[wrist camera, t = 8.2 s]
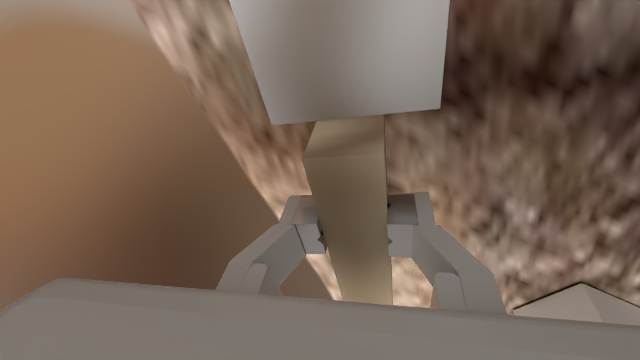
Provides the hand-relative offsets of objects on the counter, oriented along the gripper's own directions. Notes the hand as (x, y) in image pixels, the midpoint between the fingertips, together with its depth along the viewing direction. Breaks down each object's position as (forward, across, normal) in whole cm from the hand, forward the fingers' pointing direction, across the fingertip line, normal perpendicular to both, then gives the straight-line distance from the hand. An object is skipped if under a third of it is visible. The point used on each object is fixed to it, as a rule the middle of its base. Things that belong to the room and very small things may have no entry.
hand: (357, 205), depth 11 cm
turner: (+2, 0, -2) cm, 2 cm away
